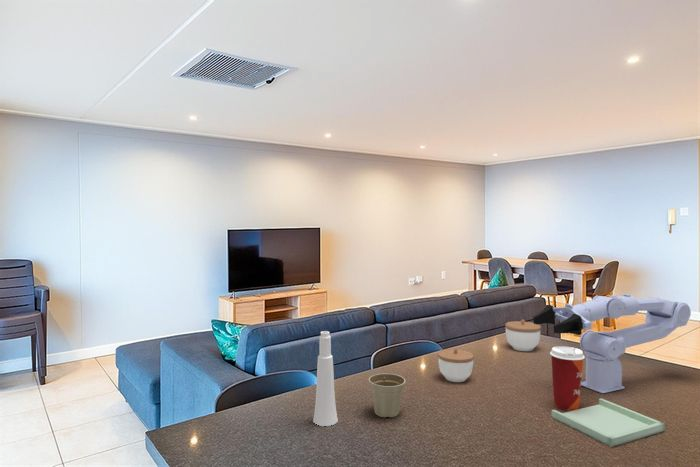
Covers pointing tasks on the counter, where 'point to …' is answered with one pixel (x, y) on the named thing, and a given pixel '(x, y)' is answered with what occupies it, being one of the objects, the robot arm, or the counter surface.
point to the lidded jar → (455, 364)
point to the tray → (610, 423)
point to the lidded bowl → (523, 335)
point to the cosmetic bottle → (325, 384)
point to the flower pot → (386, 393)
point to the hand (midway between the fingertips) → (544, 324)
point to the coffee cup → (567, 377)
